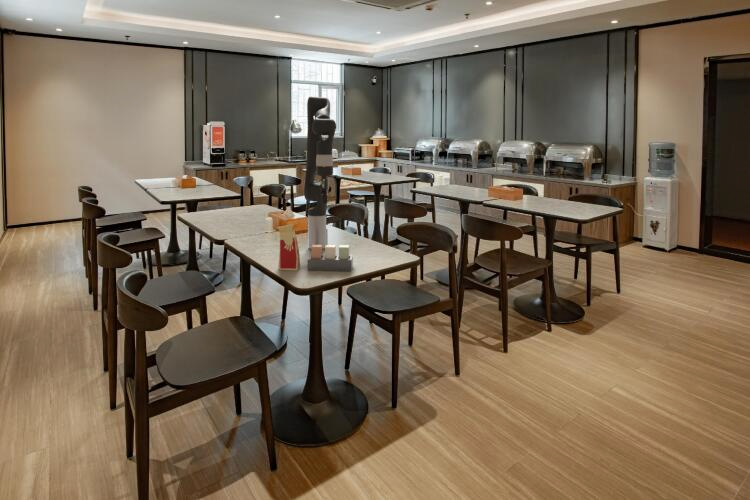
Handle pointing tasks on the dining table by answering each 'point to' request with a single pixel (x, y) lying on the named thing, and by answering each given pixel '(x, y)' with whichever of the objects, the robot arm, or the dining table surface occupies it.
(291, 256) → the milk carton
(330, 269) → the frame
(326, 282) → the dining table surface
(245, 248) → the dining table surface
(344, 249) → the sage key
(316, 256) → the terracotta key
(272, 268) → the dining table surface
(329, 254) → the ivory key
